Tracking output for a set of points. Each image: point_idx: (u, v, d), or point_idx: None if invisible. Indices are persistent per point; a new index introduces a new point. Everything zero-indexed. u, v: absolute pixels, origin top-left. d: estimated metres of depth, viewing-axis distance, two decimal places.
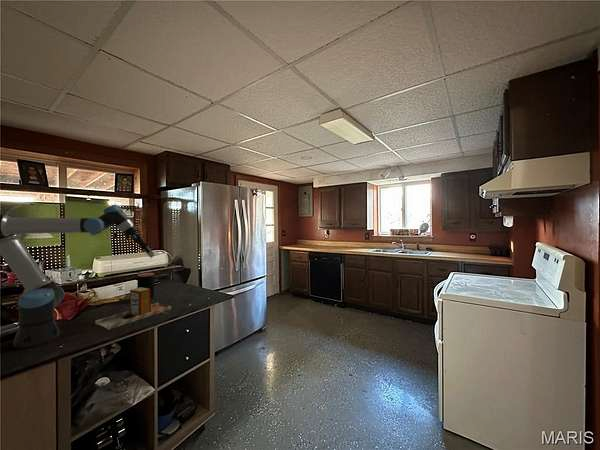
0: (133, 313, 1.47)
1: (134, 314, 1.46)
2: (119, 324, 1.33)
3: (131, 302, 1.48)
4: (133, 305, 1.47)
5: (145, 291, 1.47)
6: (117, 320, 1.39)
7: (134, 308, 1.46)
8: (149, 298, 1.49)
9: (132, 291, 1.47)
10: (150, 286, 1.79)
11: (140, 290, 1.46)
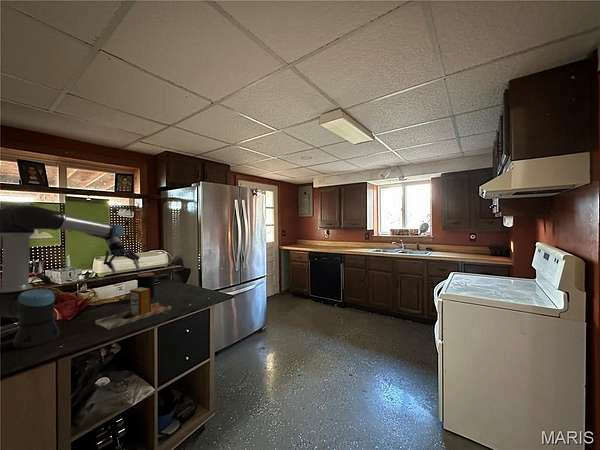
0: (133, 313, 1.47)
1: (134, 314, 1.46)
2: (119, 324, 1.33)
3: (131, 302, 1.48)
4: (133, 305, 1.47)
5: (145, 291, 1.47)
6: (117, 320, 1.39)
7: (134, 308, 1.46)
8: (149, 298, 1.49)
9: (132, 291, 1.47)
10: (150, 286, 1.79)
11: (140, 290, 1.46)
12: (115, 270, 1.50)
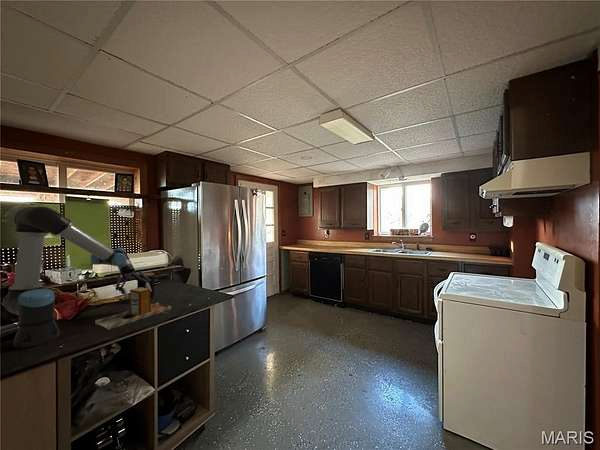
0: (133, 313, 1.47)
1: (134, 314, 1.46)
2: (119, 324, 1.33)
3: (131, 302, 1.48)
4: (133, 305, 1.47)
5: (145, 291, 1.47)
6: (117, 320, 1.39)
7: (134, 308, 1.46)
8: (149, 298, 1.49)
9: (132, 291, 1.47)
10: None
11: (140, 290, 1.46)
12: (128, 296, 1.46)
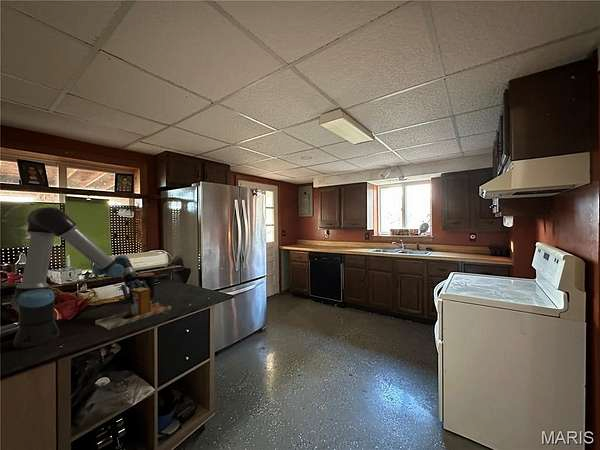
0: (133, 313, 1.47)
1: (134, 314, 1.46)
2: (119, 324, 1.33)
3: None
4: (133, 305, 1.47)
5: (145, 291, 1.47)
6: (117, 320, 1.39)
7: (134, 308, 1.46)
8: (149, 298, 1.49)
9: (132, 291, 1.47)
10: (150, 286, 1.79)
11: (140, 290, 1.46)
12: None
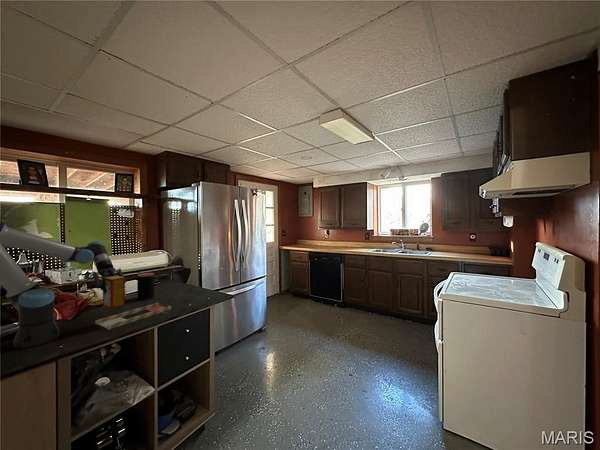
0: (105, 303, 1.35)
1: (106, 304, 1.34)
2: (119, 324, 1.33)
3: None
4: (105, 294, 1.35)
5: (118, 279, 1.35)
6: (117, 320, 1.39)
7: (106, 297, 1.34)
8: (123, 288, 1.37)
9: (105, 279, 1.35)
10: (150, 286, 1.79)
11: (113, 278, 1.34)
12: (110, 295, 1.32)
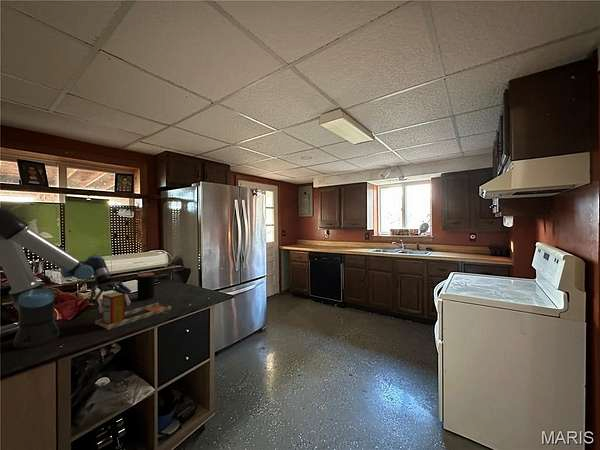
0: (105, 320, 1.35)
1: (106, 321, 1.34)
2: (119, 324, 1.33)
3: (103, 308, 1.36)
4: (105, 311, 1.35)
5: (118, 297, 1.35)
6: None
7: (106, 315, 1.34)
8: (123, 304, 1.37)
9: (104, 296, 1.35)
10: (150, 286, 1.79)
11: (112, 295, 1.34)
12: None
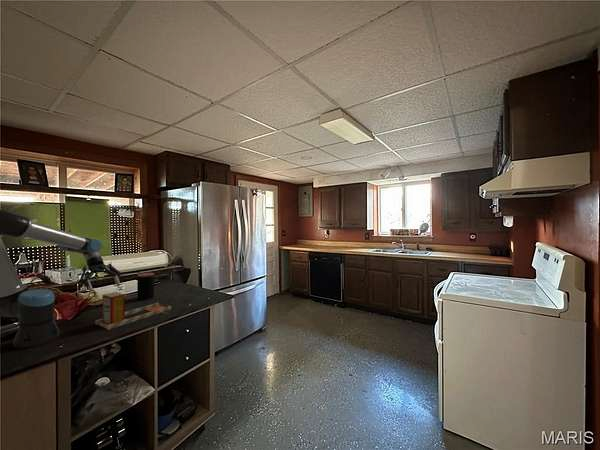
0: (105, 320, 1.35)
1: (106, 321, 1.34)
2: (119, 324, 1.33)
3: (103, 308, 1.36)
4: (105, 311, 1.35)
5: (118, 297, 1.35)
6: None
7: (106, 315, 1.34)
8: (123, 304, 1.37)
9: (104, 296, 1.35)
10: (150, 286, 1.79)
11: (112, 295, 1.34)
12: (92, 289, 1.36)
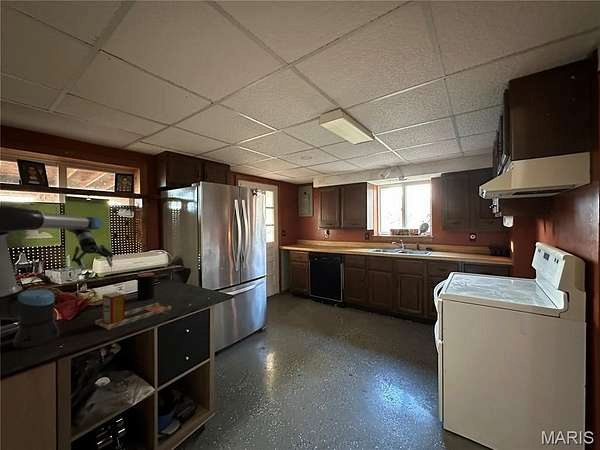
0: (105, 320, 1.35)
1: (106, 321, 1.34)
2: (119, 324, 1.33)
3: (103, 308, 1.36)
4: (105, 311, 1.35)
5: (118, 297, 1.35)
6: None
7: (106, 315, 1.34)
8: (123, 304, 1.37)
9: (104, 296, 1.35)
10: (150, 286, 1.79)
11: (112, 295, 1.34)
12: (84, 267, 1.40)
